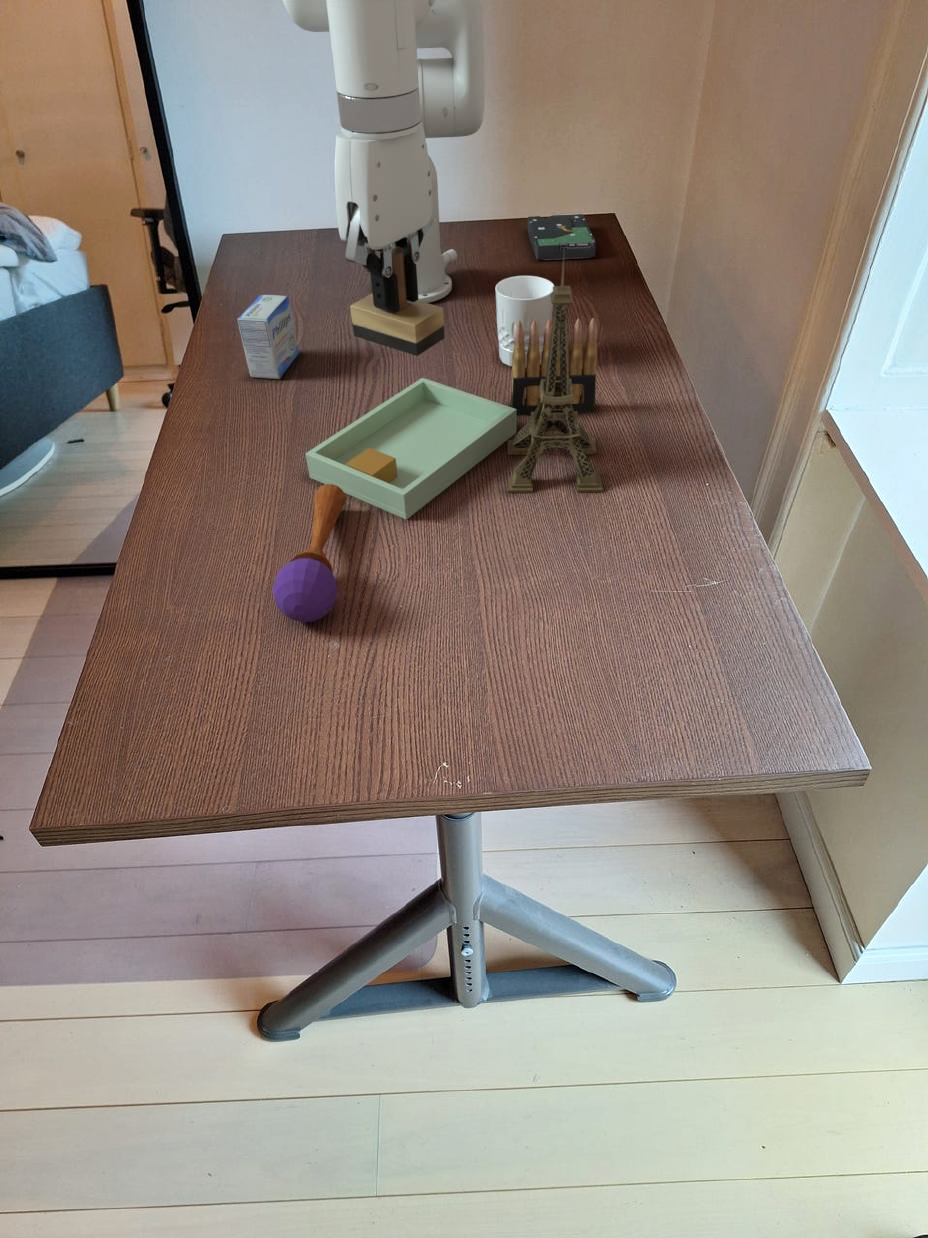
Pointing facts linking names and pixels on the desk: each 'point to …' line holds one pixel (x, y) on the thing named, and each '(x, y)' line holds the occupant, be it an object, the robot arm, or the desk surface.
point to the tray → (414, 445)
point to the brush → (399, 318)
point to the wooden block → (375, 465)
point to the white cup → (522, 311)
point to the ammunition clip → (576, 373)
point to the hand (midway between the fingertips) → (396, 302)
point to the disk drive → (561, 237)
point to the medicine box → (268, 336)
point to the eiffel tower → (543, 421)
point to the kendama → (311, 565)
